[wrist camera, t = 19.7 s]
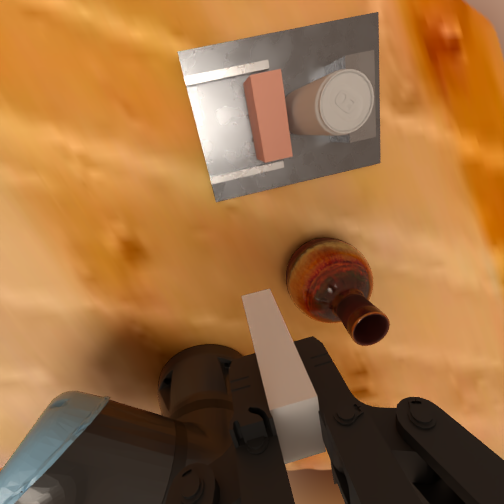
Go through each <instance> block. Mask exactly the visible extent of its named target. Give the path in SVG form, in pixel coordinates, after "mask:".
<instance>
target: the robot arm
mask: <svg viewBox="0 0 504 504" xmlns="http://www.w3.org/2000/svg"><path fill="white" fill-rule="evenodd" d="M242 300H243V304H244V309H245V313H246V317H247V321H248V325H249V329H250V333H251V337H252V341H253V345H254V349H255V353H254V354H251V355H247V356H242V355H241V354H239V353H238V352H236V351H235V350H233V349H230V348H228V347H224V346H220V345H200V346H195V347H191V348H189V349H186V350H184V351H182V352H180V353H178V354H177V355H175V356H174V357H173V358H171V359H170V360H169V361H168V362H167V364H166V365H165V366H164V368H163V370H162V372H161V375H160V378H159V384H158V401H159V405H160V409H161V414H162V415H158V414H155V413H152V412H148V411H145V410H142V409H138V408H135V407H131V406H128V405H125V404H121V403H118V402H115V401H112V400H109V399H110V397H108V396H105V397H99V396H95V395H91V394H87V393H83V392H79V391H68V392H65V393H62V394H60V395H59V396H57V397H56V398H55V399H53V400H52V401H51V403H50V404H49V405H48V407H47V408H46V409H45V411H44V412H43V413H42V415H41V416H40V418H39V419H38V420H37V422H36V423H35V424H34V426H33V427H32V429H31V430H30V431H29V433H28V434H27V435H26V437H25V438H24V440H23V441H22V442H21V444H20V445H19V447H18V448H17V449H16V451H15V452H14V453H13V455H12V456H11V458H10V459H9V460H8V462H7V463H6V464H5V466H4V467H3V469H2V470H1V472H0V504H295V502H294V498H293V494H292V491H291V487H290V483H289V479H288V475H287V471H286V467H285V464H287V463H290V462H293V461H296V460H300V459H303V458H306V457H309V456H313V455H316V454H319V453H322V452H326V450H325V447H326V449H327V452H328V454H329V457H330V460H331V467H332V473H333V479H334V484H336V483H337V484H338V486H339V488H340V491H341V494H342V496H343V499H344V501H345V504H504V460H503V459H502V458H500V457H499V456H498V455H497V454H495V453H494V452H493V451H492V450H491V449H489V448H488V447H487V446H486V445H485V444H483V443H482V442H481V441H480V440H478V439H477V438H476V437H475V436H474V435H472V434H471V433H470V432H469V431H467V430H466V429H465V428H464V427H463V426H461V425H460V424H459V423H458V422H456V421H455V420H454V419H453V418H452V417H450V416H449V415H448V414H447V413H446V412H444V411H443V410H442V409H441V408H439V407H438V406H437V405H435V404H434V403H432V402H430V401H429V400H426V399H423V398H420V397H408V398H405V399H402V400H401V401H400V402H399V403H398V404H397V408H379V407H372V406H369V405H366V404H364V403H362V402H360V401H359V400H357V399H356V398H355V397H354V396H353V395H352V393H351V392H350V390H349V389H348V387H347V385H346V383H345V382H344V380H343V378H342V376H341V375H340V373H339V371H338V369H337V368H336V366H335V364H334V363H333V361H332V359H331V357H330V356H329V355H328V352H327V350H326V349H325V347H324V345H323V343H321V342H320V341H319V340H317V339H316V338H315V337H313V336H312V337H309V338H305V339H301V340H298V341H294V342H293V340H292V338H291V335H290V333H289V331H288V329H287V326H286V324H285V322H284V319H283V317H282V315H281V313H280V310H279V308H278V306H277V304H276V301H275V299H274V297H273V295H272V292H271V290H270V289H266V290H262V291H259V292H255V293H251V294H247V295H243V296H242Z"/></svg>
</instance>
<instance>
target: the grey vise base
mask: <svg viewBox="0 0 504 504" xmlns="http://www.w3.org/2000/svg"><path fill="white" fill-rule="evenodd" d="M178 56H179V59H180V63H181V67H182V71H183V75H184V79H185V83H186V87H187V91H188V94H189V98H190V102H191V106H192V110H193V114H194V118H195V122H196V126H197V129H198V133H199V137H200V141H201V145H202V149H203V153H204V157H205V161H206V165H207V168H208V172H209V176H210V180H211V184H212V188H213V192H214V196H215V200H216V202H219V201H223V200H227V199H231V198H235V197H240V196H244V195H248V194H252V193H256V192H261V191H265V190H269V189H273V188H277V187H282V186H286V185H290V184H294V183H298V182H303V181H307V180H311V179H315V178H319V177H324V176H328V175H332V174H336V173H340V172H345V171H349V170H353V169H357V168H361V167H366V166H370V165H374V164H378V163H380V98H379V28H378V12H376V13H371V14H366V15H361V16H355V17H350V18H345V19H340V20H335V21H330V22H325V23H320V24H315V25H310V26H305V27H300V28H295V29H290V30H285V31H280V32H275V33H270V34H265V35H260V36H255V37H250V38H245V39H240V40H235V41H230V42H225V43H220V44H214V45H209V46H204V47H199V48H194V49H189V50H184V51H179V52H178ZM277 69H281V73H282V80H283V88H284V95H285V98H286V97H287V95H288V94H290V93H291V92H292V91H294V90H296V89H298V88H301V87H303V86H305V85H307V84H309V83H311V82H313V81H315V80H318V79H320V78H322V77H324V76H326V75H328V74H330V73H333V72H335V71H338V70H341V69H354V70H358V71H360V72H361V73H363V74H365V75H366V77H367V78H368V79H369V80H370V82H371V85H372V87H373V92H374V104H373V108H372V111H371V114H370V116H369V117H368V119H367V121H366V122H365V123H364V124H363V125H362V126H361V127H360V128H359V129H357V130H356V131H353V132H351V133H349V134H346V135H338V136H330V135H296V134H293V133H291V132H290V140H291V147H292V154H293V156H292V157H288V158H283V159H279V160H275V161H270V162H266V163H265V162H263V161H260V160H258V159H257V157H256V152H255V146H254V141H253V136H252V130H251V125H250V119H249V114H248V109H247V103H246V98H245V92H244V87H243V83H244V82H245V81H246V79H247V78H248V77H249V76H250V75H253V74H258V73H263V72H268V71H272V70H277Z"/></svg>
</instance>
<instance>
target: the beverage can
mask: <svg viewBox="0 0 504 504" xmlns="http://www.w3.org/2000/svg"><path fill="white" fill-rule="evenodd" d="M285 103H286V110H287V117H288V125H289V132H291V133H293V134H296V135H330V136H338V135H346V134H349V133H351V132H353V131H356V130H357V129H359V128H360V127H361V126H362V125H363V124H364V123H365V122H366V121H367V119H368V117H369V116H370V114H371V111H372V108H373V104H374V92H373V87H372V85H371V82H370V80H369V79H368V78H367V77H366V75H365V74H363V73H361V72H360V71H358V70H354V69H341V70H338V71H335V72H333V73H330V74H328V75H326V76H324V77H322V78H320V79H318V80H315V81H313V82H311V83H309V84H307V85H305V86H303V87H301V88H298V89H296V90H294V91H292V92H291V93H290V94H288V95H287V97H286V98H285Z"/></svg>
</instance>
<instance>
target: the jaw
mask: <svg viewBox="0 0 504 504" xmlns="http://www.w3.org/2000/svg"><path fill="white" fill-rule="evenodd" d="M243 87H244V92H245V98H246V103H247V109H248V114H249V119H250V125H251V130H252V136H253V141H254V146H255V152H256V157H257V159H258V160H260V161H263V162H265V163H266V162H270V161H275V160H279V159H283V158H288V157H292V156H293V154H292V147H291V140H290V132H289V125H288V117H287V110H286V103H285V95H284V88H283V80H282V73H281V69H277V70H272V71H268V72H263V73H258V74H253V75H250V76H249V77H248V78H247V79H246V81H245V82H244V83H243Z"/></svg>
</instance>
